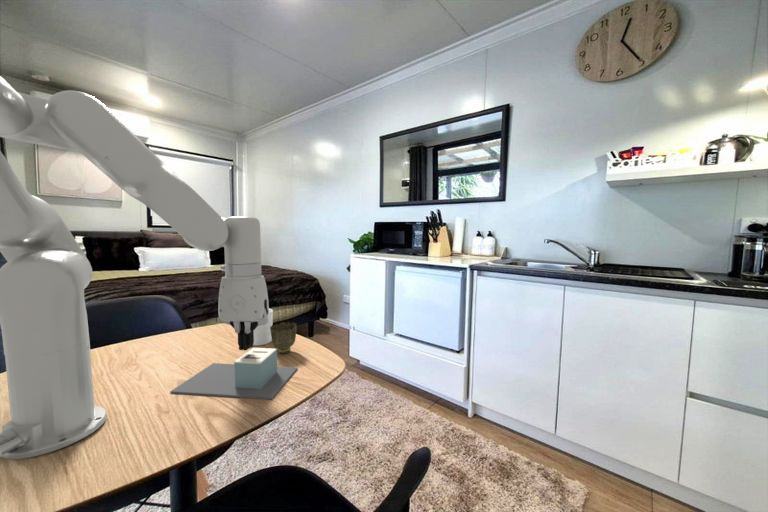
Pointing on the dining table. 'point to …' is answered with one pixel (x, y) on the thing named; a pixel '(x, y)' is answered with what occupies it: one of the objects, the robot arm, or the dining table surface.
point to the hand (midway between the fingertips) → (246, 348)
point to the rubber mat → (231, 383)
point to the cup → (283, 336)
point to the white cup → (264, 331)
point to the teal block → (255, 368)
